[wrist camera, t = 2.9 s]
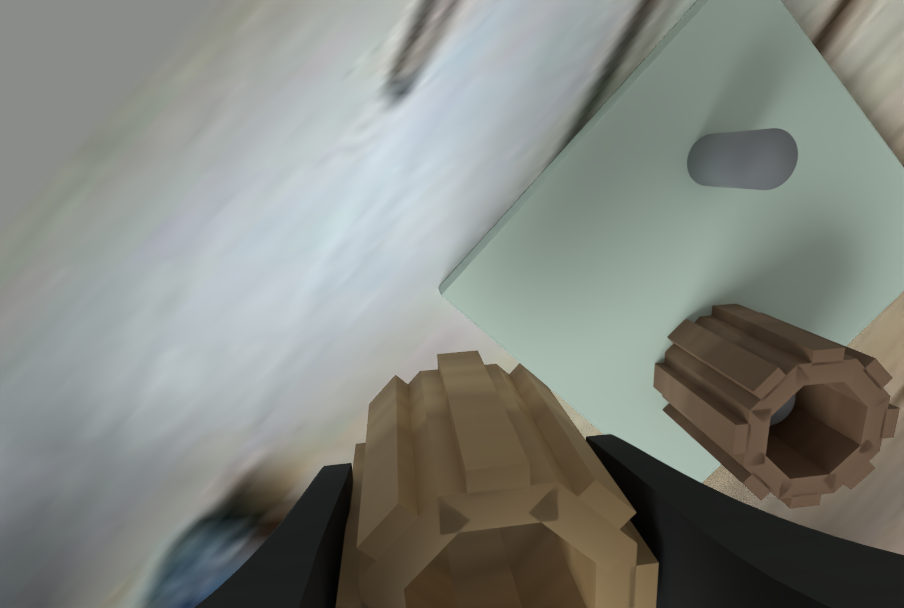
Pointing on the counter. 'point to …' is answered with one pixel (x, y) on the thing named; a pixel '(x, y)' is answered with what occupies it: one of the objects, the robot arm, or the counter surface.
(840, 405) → the walnut cog
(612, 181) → the board
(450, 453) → the oak cog
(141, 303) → the counter surface
